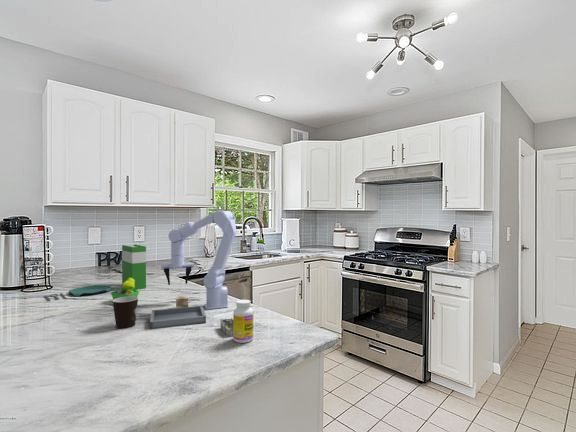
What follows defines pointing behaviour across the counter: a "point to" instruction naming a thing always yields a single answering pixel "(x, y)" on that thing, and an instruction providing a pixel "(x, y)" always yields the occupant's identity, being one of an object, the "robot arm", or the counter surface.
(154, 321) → the tray
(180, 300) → the wooden cube
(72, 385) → the counter surface
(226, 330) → the grey lumpy block
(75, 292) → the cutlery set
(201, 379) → the counter surface
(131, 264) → the green cereal box
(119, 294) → the fruit basket
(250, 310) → the supplement bottle
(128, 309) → the coffee mug
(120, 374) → the counter surface
